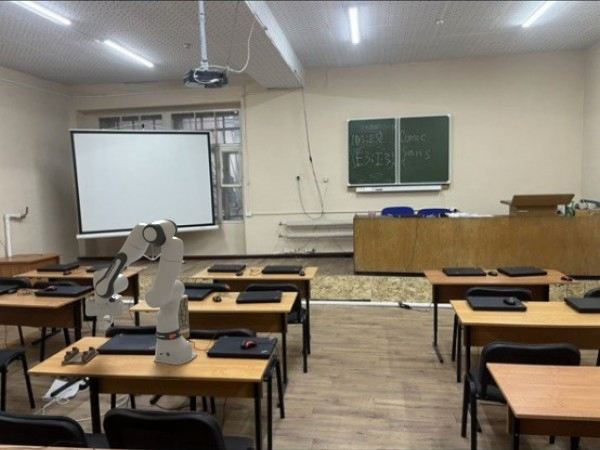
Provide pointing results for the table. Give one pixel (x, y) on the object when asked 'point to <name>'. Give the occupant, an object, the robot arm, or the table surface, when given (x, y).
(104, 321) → the grey strip
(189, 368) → the table surface
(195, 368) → the table surface
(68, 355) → the drying rack
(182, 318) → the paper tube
